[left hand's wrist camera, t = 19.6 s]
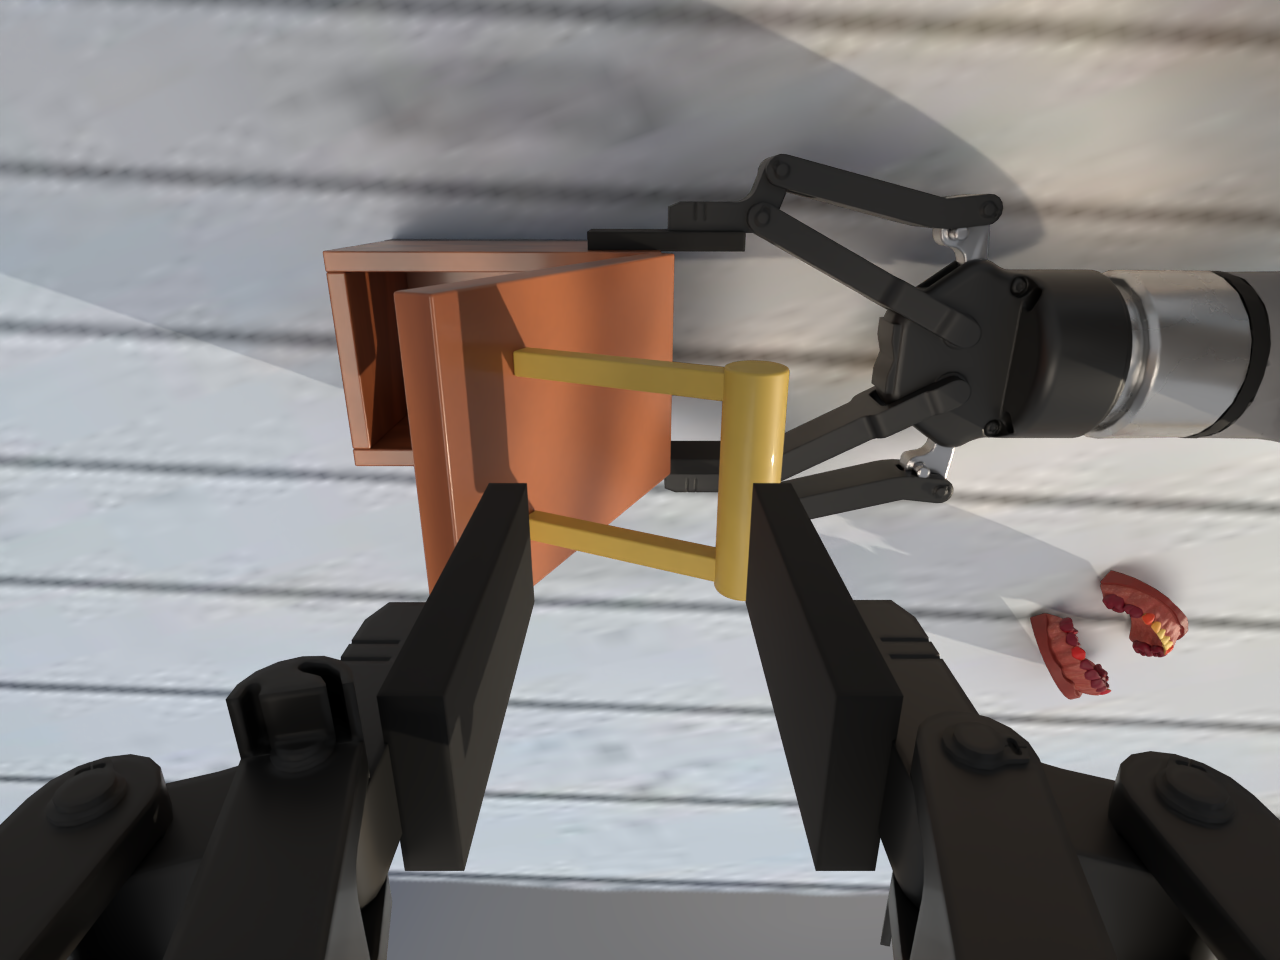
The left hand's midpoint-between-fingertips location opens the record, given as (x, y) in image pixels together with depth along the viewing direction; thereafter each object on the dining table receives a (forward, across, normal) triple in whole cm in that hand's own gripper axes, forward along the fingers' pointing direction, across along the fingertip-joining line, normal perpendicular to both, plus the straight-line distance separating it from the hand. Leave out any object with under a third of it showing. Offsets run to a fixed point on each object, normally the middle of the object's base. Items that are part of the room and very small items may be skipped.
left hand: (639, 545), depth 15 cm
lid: (+10, -3, 0) cm, 11 cm away
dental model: (+26, +28, -18) cm, 42 cm away
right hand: (+19, -2, 0) cm, 20 cm away
